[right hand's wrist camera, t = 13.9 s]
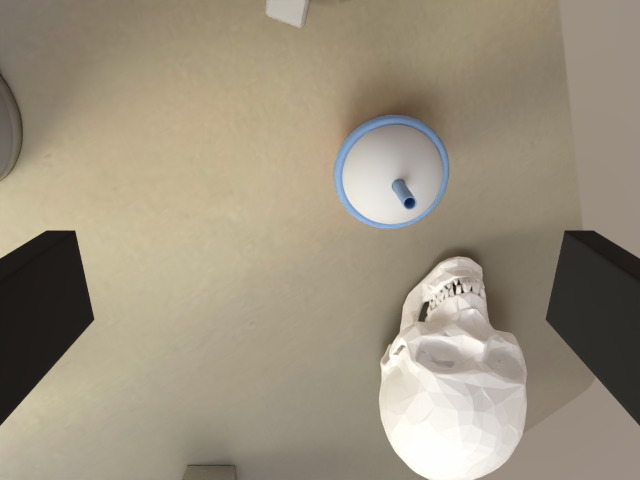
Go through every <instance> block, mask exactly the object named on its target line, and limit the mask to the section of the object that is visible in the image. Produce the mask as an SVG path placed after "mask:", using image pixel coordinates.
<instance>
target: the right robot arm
mask: <svg viewBox="0 0 640 480" xmlns="http://www.w3.org/2000/svg"><path fill="white" fill-rule="evenodd" d="M21 143H22V127H21V120H20V116H19V111H18V108H17V105H16V103H15V100H14V98H13V96H12V94H11V92H10V90H9V88H8V87H7V85H6V83H5V82H4V80H3V79H2V78H1V76H0V181H1V180H2V179H3V178H4V177H5V176H6V175H7V174H8V173H9V172H10V171H11V169H12V168H13V166H14V165H15V163H16V161H17V158H18V156H19V153H20V149H21ZM93 320H94V316H93V311H92V307H91V302H90V297H89V293H88V288H87V283H86V279H85V274H84V269H83V265H82V260H81V255H80V251H79V246H78V242H77V237H76V232H75V231H45V232H43V233H42V234H40V235H38V236H37V237H35V238H34V239H32V240H30V241H29V242H27V243H25V244H24V245H22V246H20V247H19V248H17V249H15V250H14V251H12V252H10V253H9V254H7V255H6V256H4V257H2V258H1V259H0V425H1V424H2V423H3V422H4V421H5V420H6V419H7V418H8V416H9V415H10V414H11V413H12V412H13V411H14V410H15V408H16V407H17V406H18V405H19V404H20V403H21V402H22V401H23V399H24V398H25V397H26V396H27V395H28V394H29V393H30V392H31V390H32V389H33V388H34V387H35V386H36V385H37V384H38V383H39V381H40V380H41V379H42V378H43V377H44V376H45V375H46V373H47V372H48V371H49V370H50V369H51V368H52V367H53V366H54V364H55V363H56V362H57V361H58V360H59V359H60V358H61V357H62V355H63V354H64V353H65V352H66V351H67V350H68V349H69V348H70V346H71V345H72V344H73V343H74V342H75V341H76V340H77V339H78V337H79V336H80V335H81V334H82V333H83V332H84V331H85V329H86V328H87V327H88V326H89V325H90V324H91V323H92V322H93ZM546 320H547V322H548V323H549V324H550V325H551V326H552V327H553V328H554V329H555V331H556V332H557V333H558V334H559V335H560V336H561V337H562V339H563V340H564V341H565V342H566V343H567V344H568V345H569V346H570V348H571V349H572V350H573V351H574V352H575V353H576V354H577V355H578V357H579V358H580V359H581V360H582V361H583V362H584V363H585V364H586V366H587V367H588V368H589V369H590V370H591V371H592V372H593V373H594V375H595V376H596V377H597V378H598V379H599V380H600V381H601V382H602V384H603V385H604V386H605V387H606V388H607V389H608V390H609V392H610V393H611V394H612V395H613V396H614V397H615V398H616V399H617V401H618V402H619V403H620V404H621V405H622V406H623V407H624V408H625V410H626V411H627V412H628V413H629V414H630V415H631V416H632V418H633V419H634V420H635V421H636V422H637V423H638V424H639V425H640V259H639V258H638V257H636V256H634V255H633V254H631V253H629V252H628V251H626V250H624V249H623V248H621V247H620V246H618V245H616V244H615V243H613V242H611V241H610V240H608V239H606V238H605V237H603V236H602V235H600V234H598V233H596V232H595V231H565V232H564V237H563V241H562V246H561V251H560V255H559V260H558V265H557V269H556V274H555V279H554V283H553V288H552V293H551V297H550V302H549V307H548V311H547V316H546Z"/></svg>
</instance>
